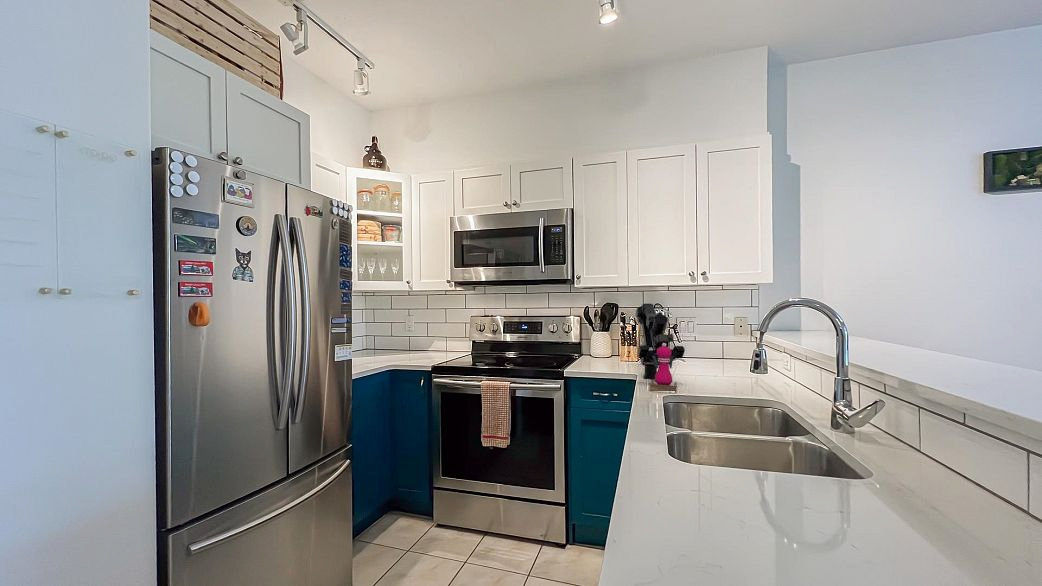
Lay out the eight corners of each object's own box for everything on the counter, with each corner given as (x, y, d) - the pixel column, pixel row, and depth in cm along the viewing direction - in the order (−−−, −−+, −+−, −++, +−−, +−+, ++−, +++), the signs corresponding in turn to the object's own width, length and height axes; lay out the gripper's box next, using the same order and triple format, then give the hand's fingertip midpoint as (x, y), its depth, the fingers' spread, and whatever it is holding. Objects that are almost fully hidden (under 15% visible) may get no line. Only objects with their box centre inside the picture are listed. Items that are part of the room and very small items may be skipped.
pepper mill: (651, 390, 185) (652, 342, 184) (658, 387, 190) (659, 341, 190) (668, 392, 180) (669, 344, 180) (674, 389, 186) (675, 342, 185)
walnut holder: (651, 386, 191) (651, 380, 191) (676, 388, 187) (676, 381, 187) (649, 391, 182) (649, 384, 182) (675, 393, 178) (675, 386, 178)
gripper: (639, 326, 190) (644, 356, 179) (683, 327, 188) (691, 356, 177) (636, 342, 198) (640, 371, 187) (678, 343, 196) (685, 372, 185)
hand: (664, 367), depth 184 cm, fingers closed on pepper mill, 5 cm apart
